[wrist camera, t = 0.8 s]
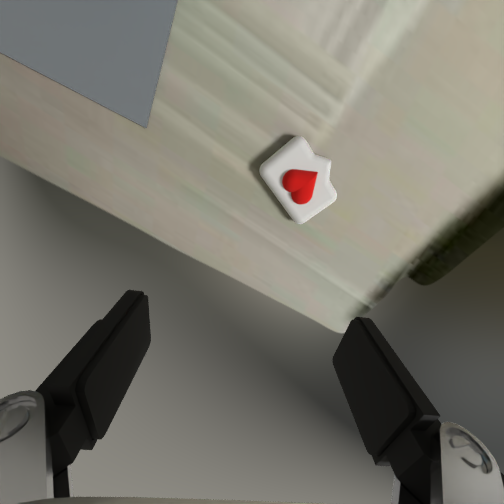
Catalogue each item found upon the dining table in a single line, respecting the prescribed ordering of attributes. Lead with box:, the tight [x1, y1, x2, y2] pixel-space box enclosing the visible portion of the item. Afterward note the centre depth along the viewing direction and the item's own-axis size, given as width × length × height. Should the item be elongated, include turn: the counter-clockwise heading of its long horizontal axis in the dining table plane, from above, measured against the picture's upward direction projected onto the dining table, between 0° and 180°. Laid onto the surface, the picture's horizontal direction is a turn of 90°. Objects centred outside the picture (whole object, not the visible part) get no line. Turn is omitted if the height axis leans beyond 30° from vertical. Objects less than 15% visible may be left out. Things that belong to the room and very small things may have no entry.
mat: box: [0, 0, 177, 128], centre depth 26 cm, size 15×22×1 cm
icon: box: [259, 136, 337, 224], centre depth 33 cm, size 12×4×10 cm
